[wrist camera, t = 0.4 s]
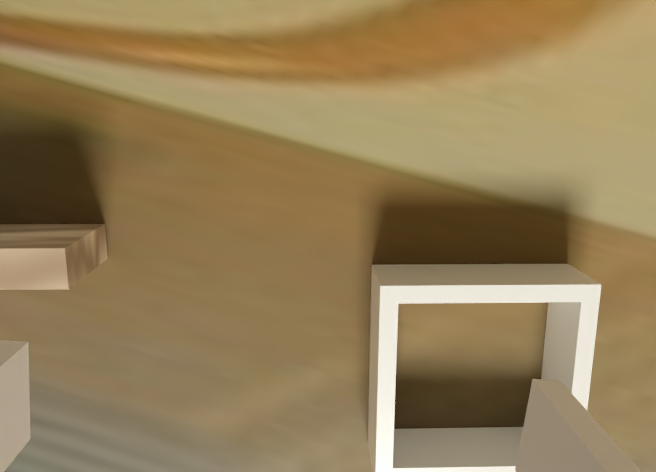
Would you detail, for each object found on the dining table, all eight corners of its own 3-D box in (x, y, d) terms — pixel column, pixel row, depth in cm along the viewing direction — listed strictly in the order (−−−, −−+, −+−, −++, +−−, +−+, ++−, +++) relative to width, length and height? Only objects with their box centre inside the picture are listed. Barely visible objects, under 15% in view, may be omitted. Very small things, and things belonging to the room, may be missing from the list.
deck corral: (371, 264, 42) (380, 285, 38) (568, 263, 43) (601, 284, 38) (367, 443, 46) (375, 483, 41) (550, 440, 46) (579, 480, 41)
